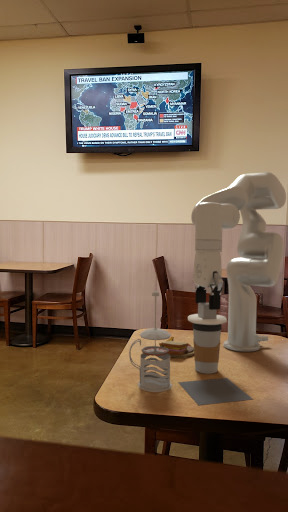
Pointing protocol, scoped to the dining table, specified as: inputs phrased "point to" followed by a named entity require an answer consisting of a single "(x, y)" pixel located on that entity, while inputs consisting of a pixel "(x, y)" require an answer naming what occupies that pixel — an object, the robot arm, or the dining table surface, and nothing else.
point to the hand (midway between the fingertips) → (207, 306)
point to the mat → (214, 391)
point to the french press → (153, 379)
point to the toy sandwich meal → (177, 348)
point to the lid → (206, 316)
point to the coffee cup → (206, 347)
